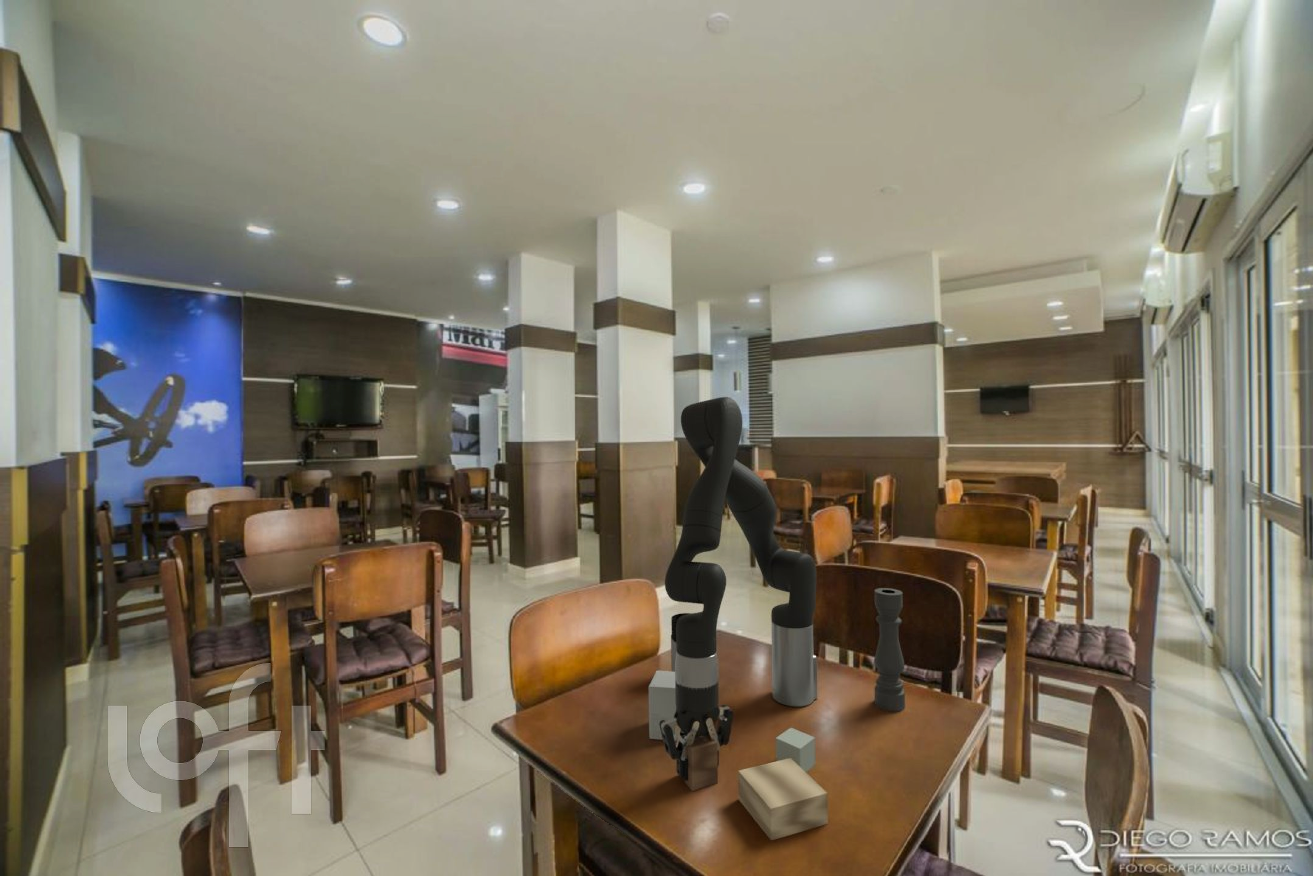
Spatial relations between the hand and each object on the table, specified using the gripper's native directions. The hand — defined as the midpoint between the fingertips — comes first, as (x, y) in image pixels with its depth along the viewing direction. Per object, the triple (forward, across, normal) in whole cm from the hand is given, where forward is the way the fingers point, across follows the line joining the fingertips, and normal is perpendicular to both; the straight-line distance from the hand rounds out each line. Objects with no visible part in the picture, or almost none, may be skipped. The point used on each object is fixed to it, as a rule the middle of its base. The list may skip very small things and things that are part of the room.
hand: (697, 773), depth 97 cm
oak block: (+1, -8, +13) cm, 15 cm away
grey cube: (+1, -18, +4) cm, 18 cm away
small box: (+1, -2, -17) cm, 17 cm away
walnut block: (+1, 0, 0) cm, 1 cm away
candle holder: (+1, -51, -5) cm, 51 cm away
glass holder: (+1, -16, -34) cm, 38 cm away
